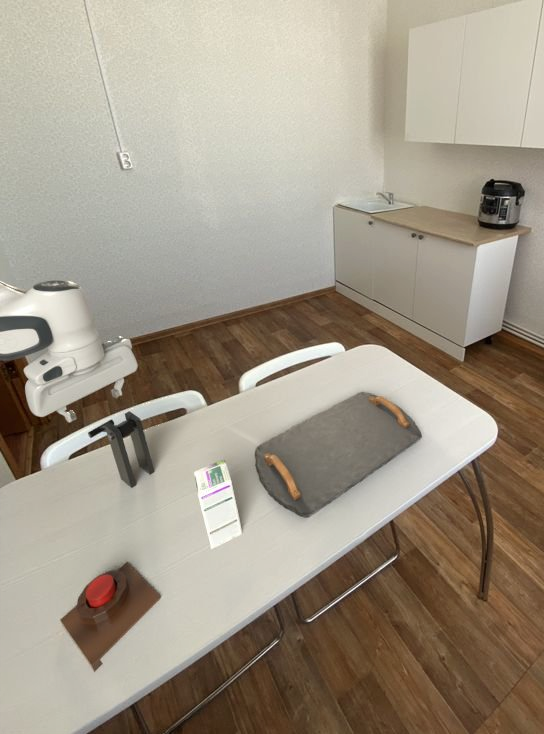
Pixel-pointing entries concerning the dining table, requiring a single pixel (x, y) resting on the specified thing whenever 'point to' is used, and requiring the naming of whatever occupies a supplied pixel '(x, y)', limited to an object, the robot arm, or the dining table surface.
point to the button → (100, 590)
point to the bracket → (121, 452)
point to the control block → (109, 615)
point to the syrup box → (218, 503)
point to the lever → (123, 427)
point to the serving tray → (333, 452)
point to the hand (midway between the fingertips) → (95, 407)
